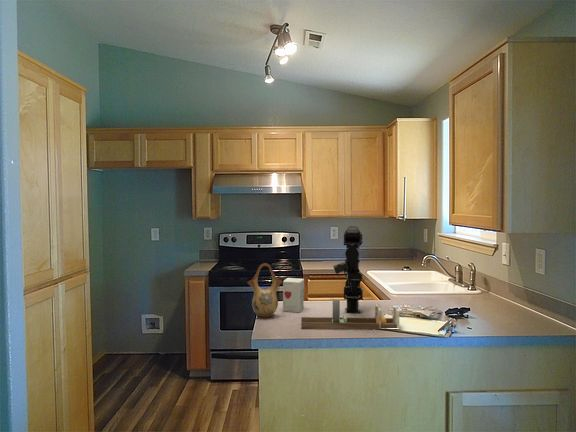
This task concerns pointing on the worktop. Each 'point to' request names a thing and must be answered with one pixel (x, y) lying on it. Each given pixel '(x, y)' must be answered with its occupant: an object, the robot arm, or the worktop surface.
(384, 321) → the orange ball
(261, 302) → the ceramic vessel
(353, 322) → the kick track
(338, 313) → the striker sled
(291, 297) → the supplement box
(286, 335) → the worktop surface
